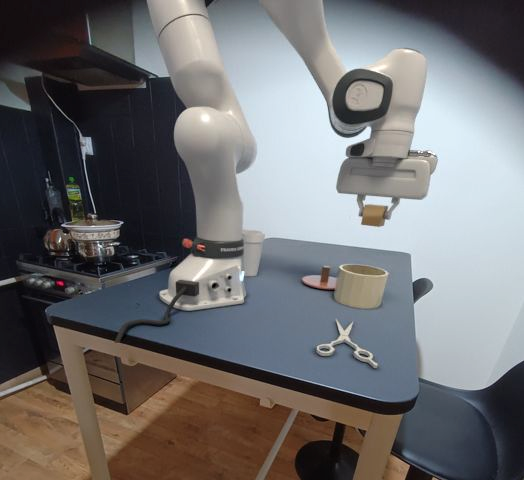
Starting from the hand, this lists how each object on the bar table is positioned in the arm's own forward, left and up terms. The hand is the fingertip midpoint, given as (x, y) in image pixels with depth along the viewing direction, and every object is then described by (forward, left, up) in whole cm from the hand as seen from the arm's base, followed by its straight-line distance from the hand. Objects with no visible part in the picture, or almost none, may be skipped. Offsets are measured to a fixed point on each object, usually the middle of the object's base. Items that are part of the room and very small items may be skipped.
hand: (373, 218), depth 75 cm
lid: (+6, +16, -21) cm, 27 cm away
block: (0, 0, -2) cm, 2 cm away
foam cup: (-7, +37, -22) cm, 43 cm away
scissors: (-23, -12, -21) cm, 33 cm away
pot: (+2, +1, -21) cm, 21 cm away
